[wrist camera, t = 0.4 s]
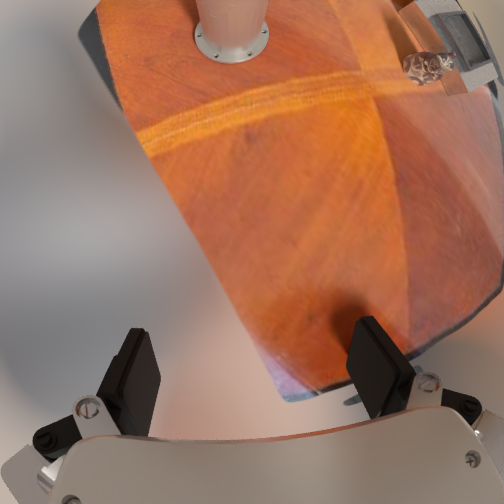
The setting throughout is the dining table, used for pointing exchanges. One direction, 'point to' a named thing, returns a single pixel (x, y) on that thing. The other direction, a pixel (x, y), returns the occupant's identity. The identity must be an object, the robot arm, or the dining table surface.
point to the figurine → (427, 66)
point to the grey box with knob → (451, 42)
